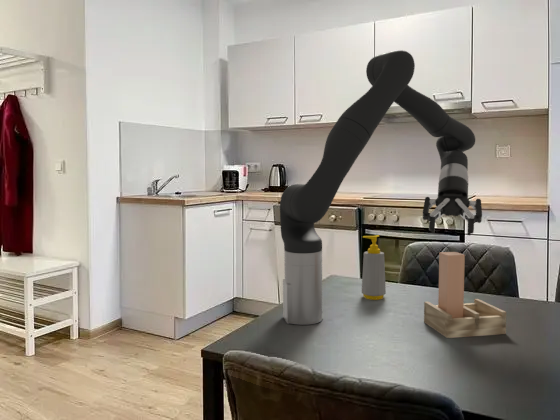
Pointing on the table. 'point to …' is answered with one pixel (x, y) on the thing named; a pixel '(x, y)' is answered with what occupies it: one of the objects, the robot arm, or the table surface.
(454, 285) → the clay bar
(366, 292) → the soap bottle
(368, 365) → the table surface
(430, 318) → the rack
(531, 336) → the table surface
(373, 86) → the robot arm
